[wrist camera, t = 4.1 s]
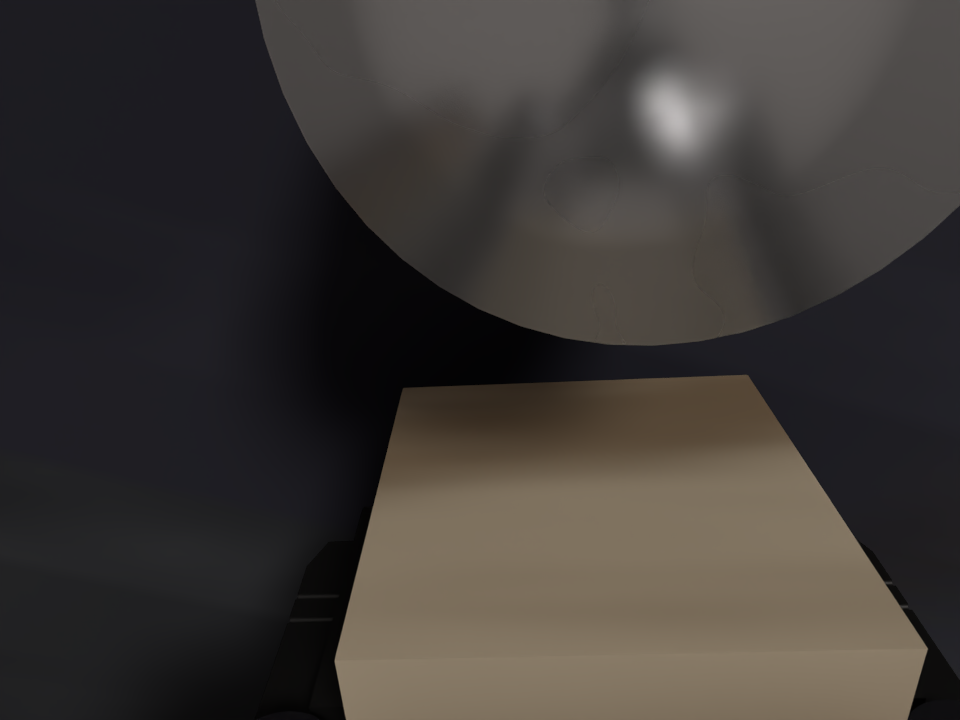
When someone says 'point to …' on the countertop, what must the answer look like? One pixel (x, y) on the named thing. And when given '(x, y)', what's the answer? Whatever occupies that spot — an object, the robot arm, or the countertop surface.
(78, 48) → the countertop surface
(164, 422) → the countertop surface
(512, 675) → the beech cube
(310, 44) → the grey metal cylinder
